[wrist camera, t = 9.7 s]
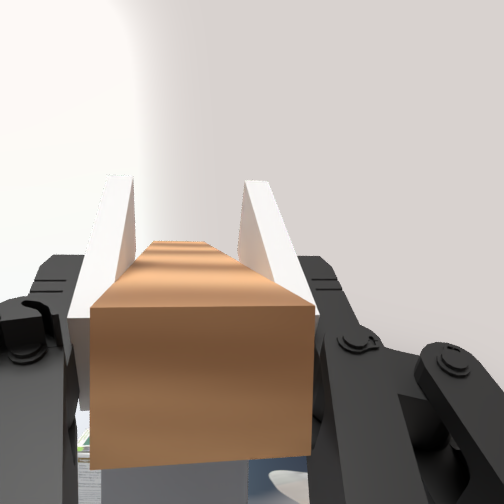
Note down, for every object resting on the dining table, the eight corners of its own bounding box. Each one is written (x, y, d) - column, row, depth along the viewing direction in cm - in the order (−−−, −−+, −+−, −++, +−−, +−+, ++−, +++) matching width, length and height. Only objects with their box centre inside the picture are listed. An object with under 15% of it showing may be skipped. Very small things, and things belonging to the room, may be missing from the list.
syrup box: (82, 548, 54) (83, 426, 53) (133, 548, 54) (134, 426, 53) (64, 586, 48) (63, 450, 47) (121, 586, 48) (122, 451, 47)
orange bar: (310, 455, 8) (315, 305, 7) (89, 469, 7) (89, 307, 7) (203, 276, 33) (203, 241, 33) (153, 276, 33) (153, 240, 32)
